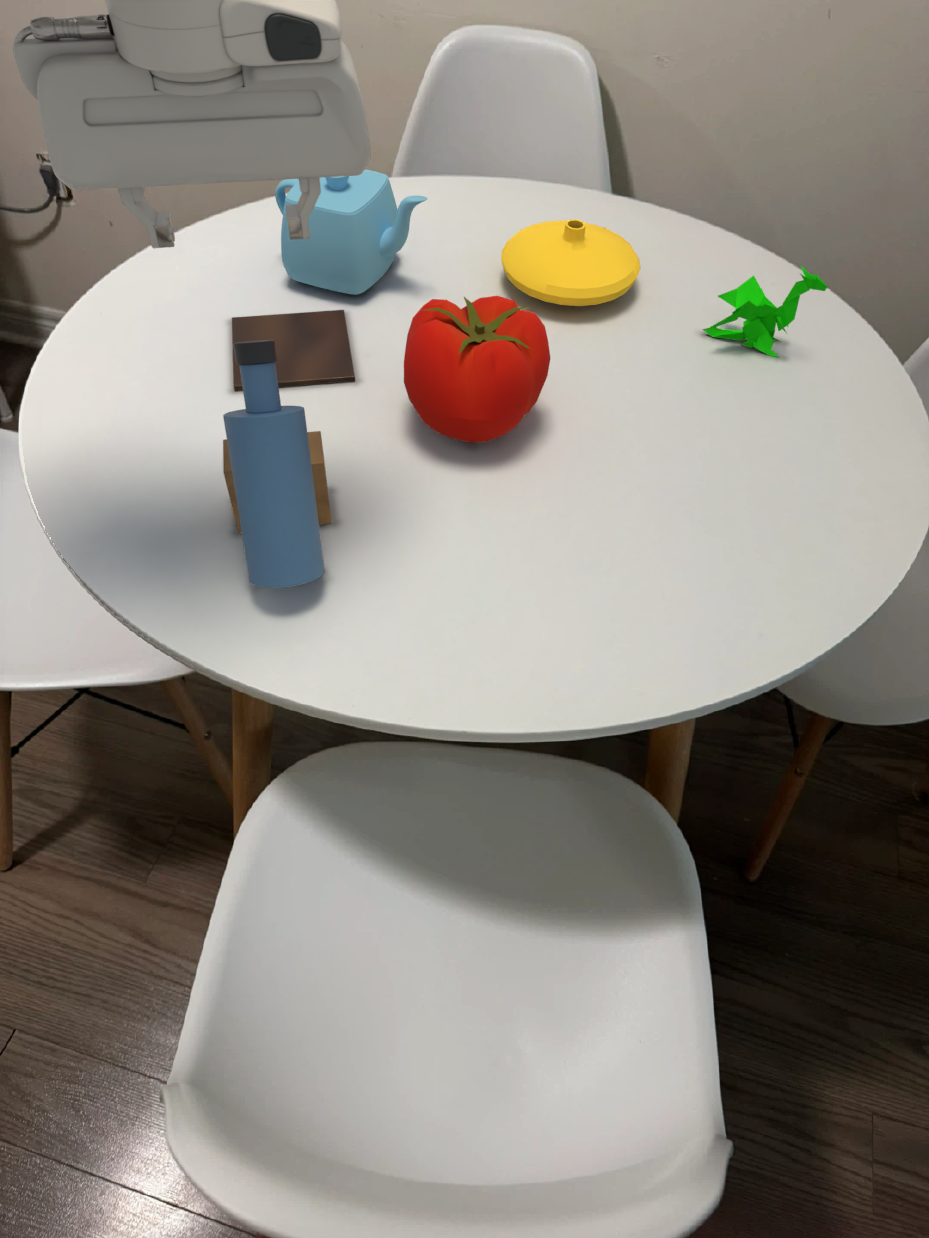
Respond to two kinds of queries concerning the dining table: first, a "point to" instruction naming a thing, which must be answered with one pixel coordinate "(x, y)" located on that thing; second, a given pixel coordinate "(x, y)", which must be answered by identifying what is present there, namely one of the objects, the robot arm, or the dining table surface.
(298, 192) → the teapot
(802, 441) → the dining table surface
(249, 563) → the bottle
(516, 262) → the vase
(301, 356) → the coaster
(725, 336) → the figurine
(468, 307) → the tomato
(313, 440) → the prop block
